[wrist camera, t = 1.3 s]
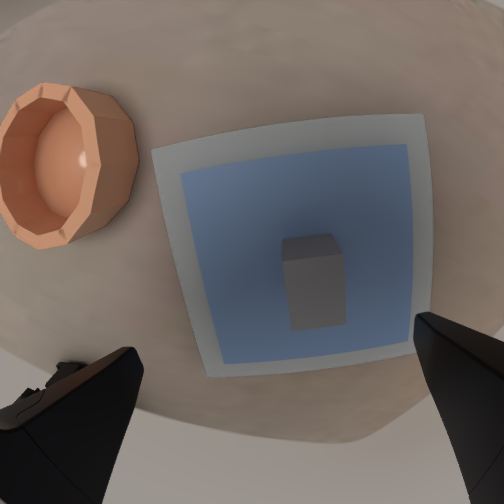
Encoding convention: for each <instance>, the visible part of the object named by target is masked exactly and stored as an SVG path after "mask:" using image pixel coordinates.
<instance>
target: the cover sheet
mask: <svg viewBox="0 0 504 504" xmlns="http://www.w3.org/2000/svg"><path fill="white" fill-rule="evenodd" d="M180 175H181V180H182V185H183V190H184V195H185V201H186V206H187V211H188V215H189V220H190V225H191V230H192V235H193V239H194V244H195V248H196V253H197V257H198V262H199V266H200V270H201V275H202V279H203V283H204V288H205V292H206V296H207V300H208V304H209V308H210V312H211V316H212V320H213V324H214V328H215V332H216V336H217V339H218V343H219V347H220V351H221V354H222V358H223V362H224V364H237V363H253V362H267V361H279V360H289V359H299V358H308V357H316V356H324V355H331V354H339V353H345V352H352V351H358V350H364V349H370V348H376V347H381V346H387V345H392V344H397V343H402V342H407V341H408V336H409V326H410V315H411V302H412V283H413V214H412V195H411V182H410V171H409V161H408V152H407V144H397V145H380V146H366V147H353V148H342V149H332V150H323V151H314V152H305V153H297V154H290V155H282V156H275V157H269V158H262V159H256V160H249V161H243V162H237V163H232V164H226V165H221V166H215V167H210V168H205V169H200V170H195V171H190V172H185V173H181V174H180Z"/></svg>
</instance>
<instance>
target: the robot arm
mask: <svg viewBox="0 0 504 504" xmlns="http://www.w3.org/2000/svg"><path fill="white" fill-rule="evenodd" d="M413 342H414V346H415V349H416V352H417V355H418V358H419V361H420V364H421V367H422V370H423V374H424V377H425V380H426V383H427V385H428V388H429V390H430V392H431V395H432V397H433V399H434V402H435V404H436V406H437V409H438V411H439V413H440V416H441V418H442V421H443V423H444V426H445V428H446V431H447V434H448V436H449V439H450V442H451V444H452V447H453V449H454V452H455V455H456V458H457V461H458V464H459V467H460V470H461V473H462V476H463V479H464V482H465V486H466V488H467V492H468V494H469V500H470V503H471V504H504V342H502V341H500V340H498V339H495V338H493V337H490V336H488V335H486V334H483V333H481V332H478V331H476V330H473V329H471V328H468V327H466V326H463V325H461V324H458V323H456V322H453V321H451V320H448V319H446V318H443V317H441V316H438V315H436V314H433V313H431V312H428V311H426V312H422V313H418V314H416V315H415V319H414V331H413ZM56 367H57V369H58V371H57V372H56V373H55V374H54V375H53V376H52V377H51V378H50V380H49V381H48V382H47V383H46V385H45V387H46V389H43V390H40V389H39V388H37V389H36V390H35V391H34V390H32V389H30V388H27V389H26V390H25V391H24V393H23V394H22V395H21V396H20V397H19V398H18V399H17V400H16V401H15V402H14V403H13V404H12V405H9V406H7V407H5V408H3V409H0V504H102V502H103V499H104V495H105V492H106V489H107V486H108V483H109V480H110V476H111V473H112V471H113V468H114V464H115V461H116V459H117V455H118V453H119V450H120V447H121V444H122V441H123V439H124V436H125V433H126V430H127V427H128V425H129V422H130V419H131V416H132V414H133V411H134V408H135V404H136V400H137V396H138V392H139V388H140V385H141V381H142V377H143V373H144V368H143V364H142V362H141V360H140V358H139V355H138V353H137V351H136V349H135V348H134V347H122V348H120V349H118V350H116V351H114V352H113V353H111V354H109V355H107V356H105V357H103V358H101V359H100V360H98V361H96V362H94V363H92V364H90V365H88V366H87V365H77V364H68V363H58V364H57V365H56Z"/></svg>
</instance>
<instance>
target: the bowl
mask: <svg viewBox="0 0 504 504" xmlns="http://www.w3.org/2000/svg"><path fill="white" fill-rule="evenodd" d="M138 164H139V157H138V152H137V146H136V139H135V133H134V127H133V122H132V121H131V119H130V118H129V117H128V116H127V114H126V113H125V112H124V111H123V110H122V108H121V107H120V106H119V105H118V104H117V102H116V101H115V100H114V99H113V97H112V96H109V95H105V94H101V93H97V92H93V91H89V90H85V89H81V88H77V87H73V86H66V85H59V84H52V83H44V82H42V83H40V84H39V85H37V86H36V87H34V88H32V89H31V90H29V91H28V92H26V93H25V94H23V95H22V96H21V97H19V98H18V99H16V100H15V102H14V103H13V105H12V107H11V108H10V110H9V112H8V114H7V115H6V117H5V119H4V121H3V122H2V124H1V126H0V212H1V214H2V216H3V218H4V219H5V221H6V223H7V224H8V226H9V228H10V229H11V231H12V233H13V234H14V236H16V237H17V238H19V239H21V240H23V241H24V242H26V243H28V244H29V245H31V246H33V247H35V248H36V249H38V250H42V249H47V248H51V247H56V246H61V245H65V244H69V243H71V242H73V241H75V240H77V239H79V238H81V237H83V236H85V235H87V234H89V233H91V232H93V231H95V230H98V229H100V228H102V227H104V226H106V225H107V224H108V222H109V221H110V220H111V219H112V218H113V217H114V216H115V215H116V213H117V212H118V211H119V210H120V209H121V208H122V207H123V206H124V205H125V204H126V203H127V202H128V201H129V197H130V193H131V189H132V185H133V182H134V178H135V174H136V171H137V167H138Z"/></svg>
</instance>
